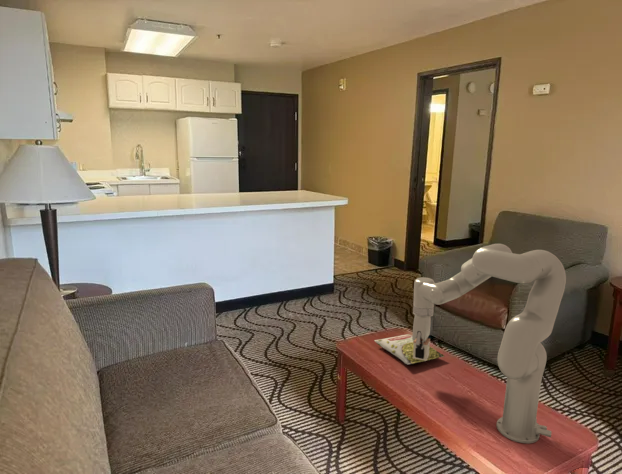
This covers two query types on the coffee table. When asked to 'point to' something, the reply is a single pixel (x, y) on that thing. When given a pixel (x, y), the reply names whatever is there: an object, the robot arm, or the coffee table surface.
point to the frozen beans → (405, 348)
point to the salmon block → (426, 348)
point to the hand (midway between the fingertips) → (421, 354)
